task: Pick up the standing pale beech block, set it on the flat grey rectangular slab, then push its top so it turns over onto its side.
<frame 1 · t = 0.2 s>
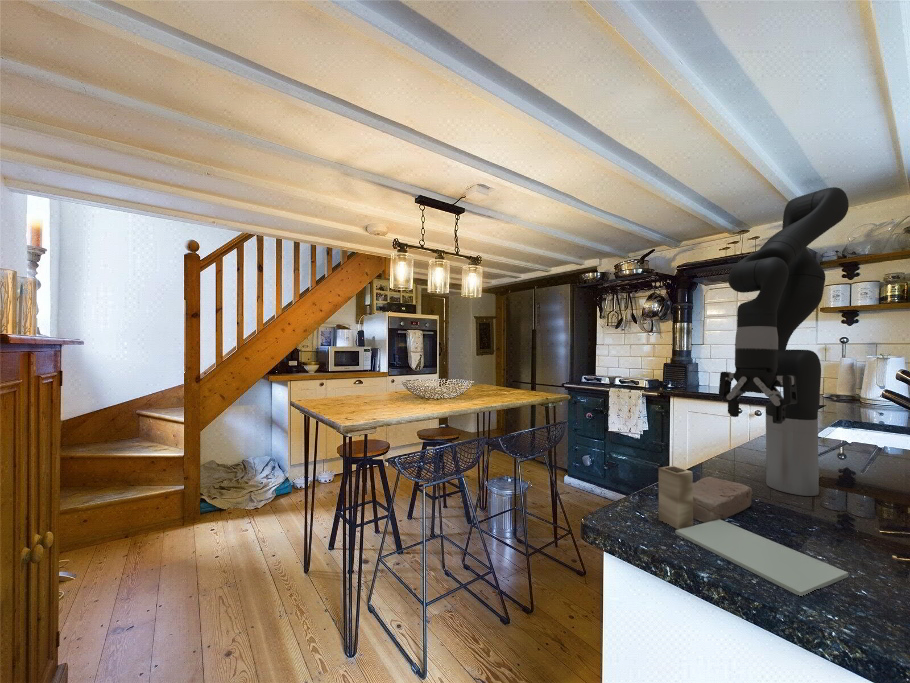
hand: (754, 419, 82), 17 cm above the countertop, tool pointing down, fingers open, 8 cm apart
beech block: (675, 522, 70), on the countertop
flat grey rectangular slab: (753, 553, 60), on the countertop
brick: (711, 510, 77), on the countertop
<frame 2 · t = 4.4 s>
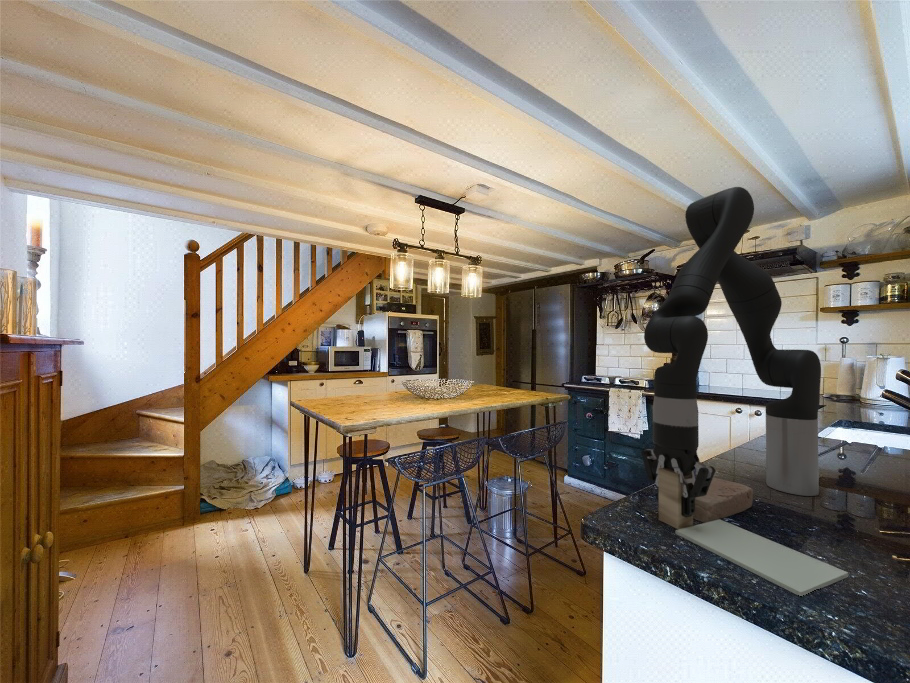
hand: (675, 510, 70), 2 cm above the countertop, tool pointing down, fingers closed on beech block, 4 cm apart
beech block: (675, 522, 70), on the countertop, touching gripper
everything else where it was.
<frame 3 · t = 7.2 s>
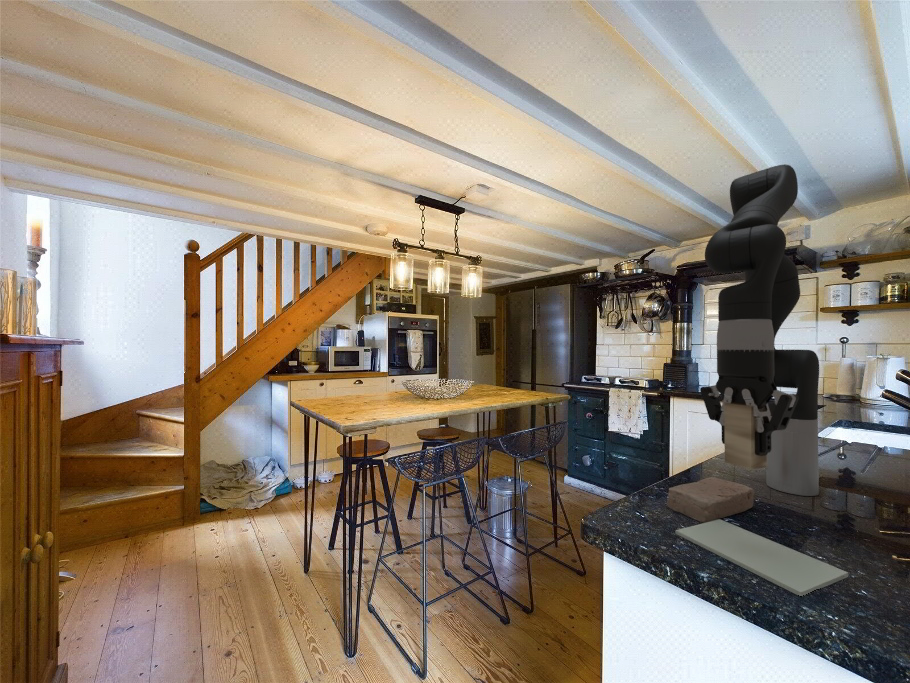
hand: (745, 450, 61), 16 cm above the countertop, tool pointing down, fingers closed on beech block, 4 cm apart
beech block: (745, 464, 61), point 14 cm above the countertop, touching gripper
everything else where it was.
when the fingers open (4 cm above the countertop, at t = 10.0 s): beech block stays where it is, resting on flat grey rectangular slab.
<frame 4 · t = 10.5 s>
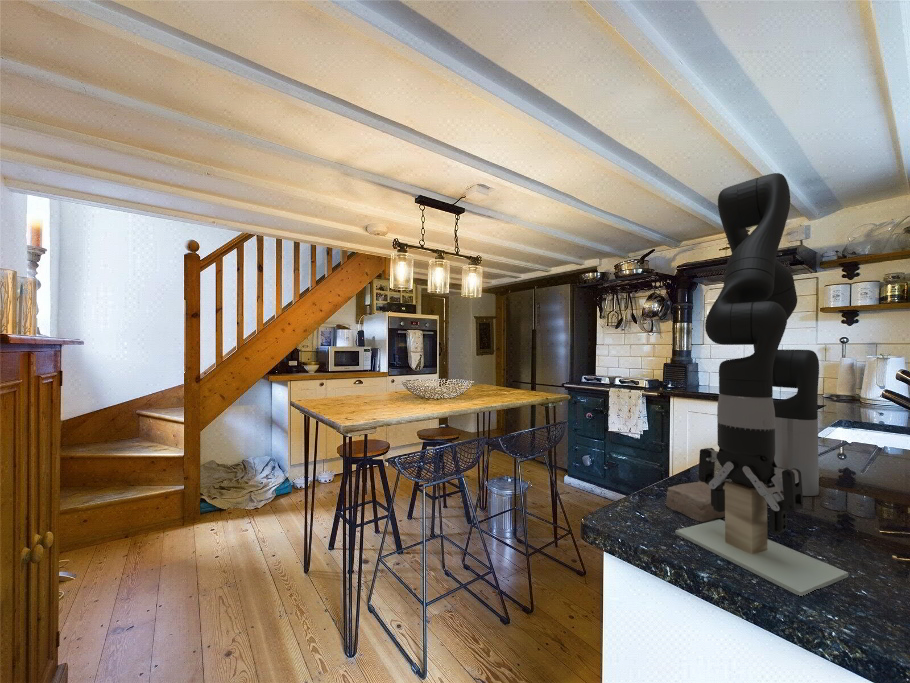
hand: (746, 521, 61), 5 cm above the countertop, tool pointing down, fingers open, 8 cm apart
beech block: (746, 546, 61), point 1 cm above the countertop, touching flat grey rectangular slab
everything else where it was.
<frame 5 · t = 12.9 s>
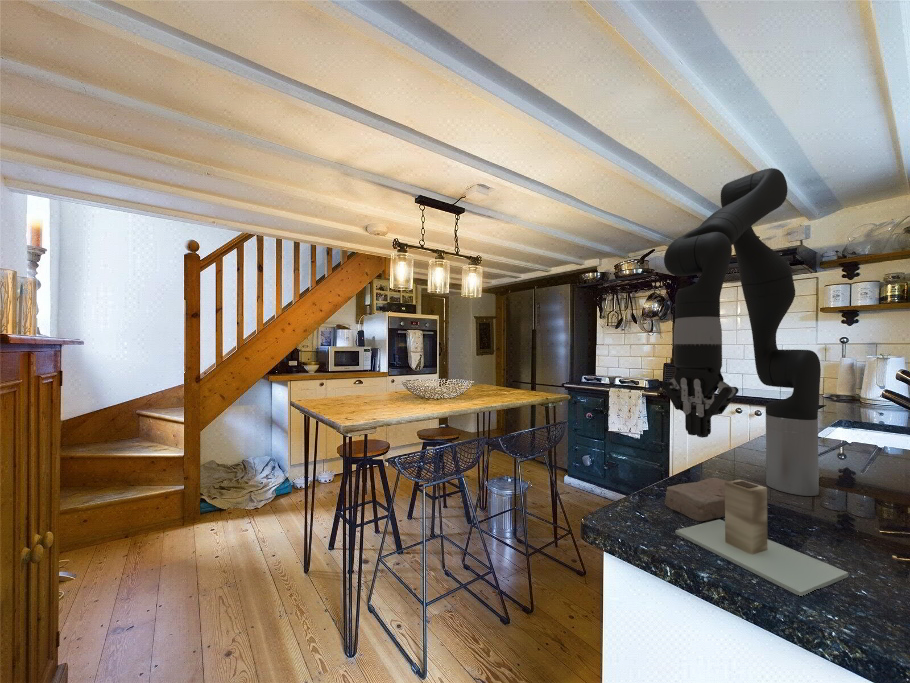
hand: (697, 435, 68), 17 cm above the countertop, tool pointing down, fingers closed
nothing on the countertop moved.
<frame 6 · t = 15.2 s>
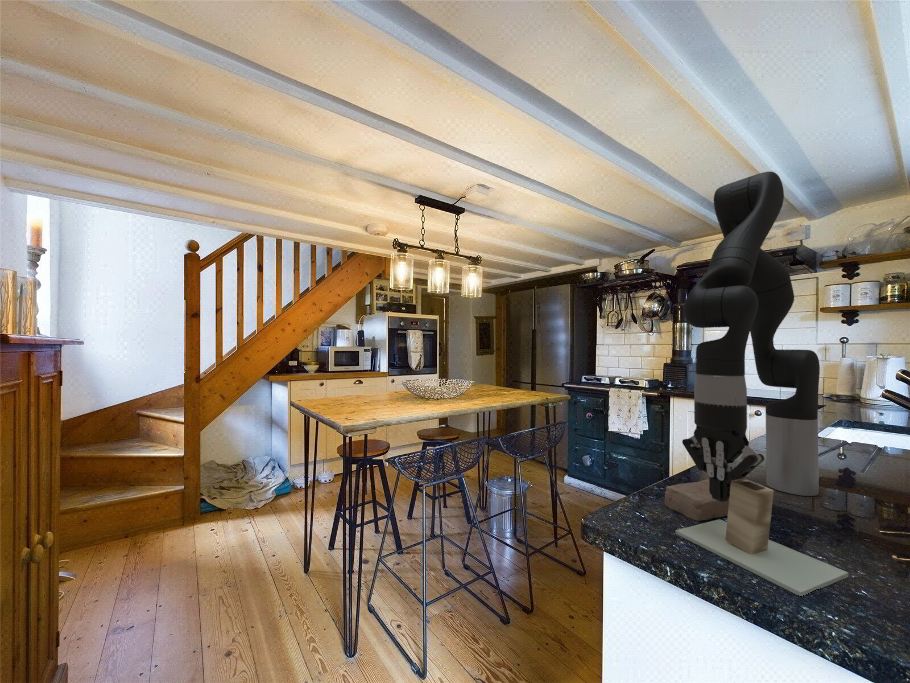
hand: (720, 499, 64), 7 cm above the countertop, tool pointing down, fingers closed
beech block: (746, 544, 61), point 1 cm above the countertop, tilted 5°, touching flat grey rectangular slab
everything else where it was.
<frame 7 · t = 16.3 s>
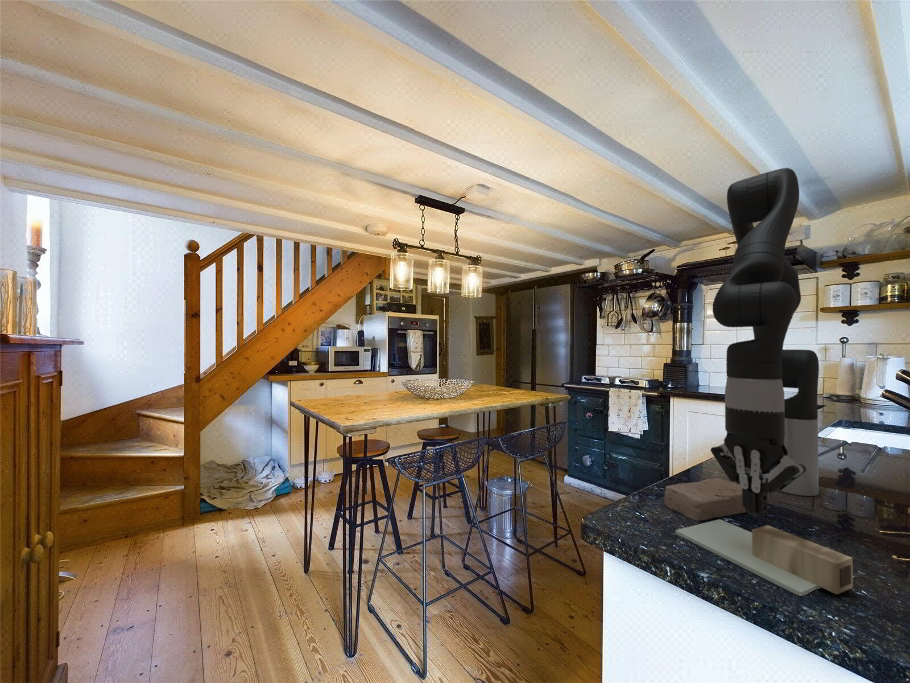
hand: (754, 513, 59), 7 cm above the countertop, tool pointing down, fingers closed
beech block: (759, 539, 59), point 3 cm above the countertop, tilted 90°, touching flat grey rectangular slab
everything else where it was.
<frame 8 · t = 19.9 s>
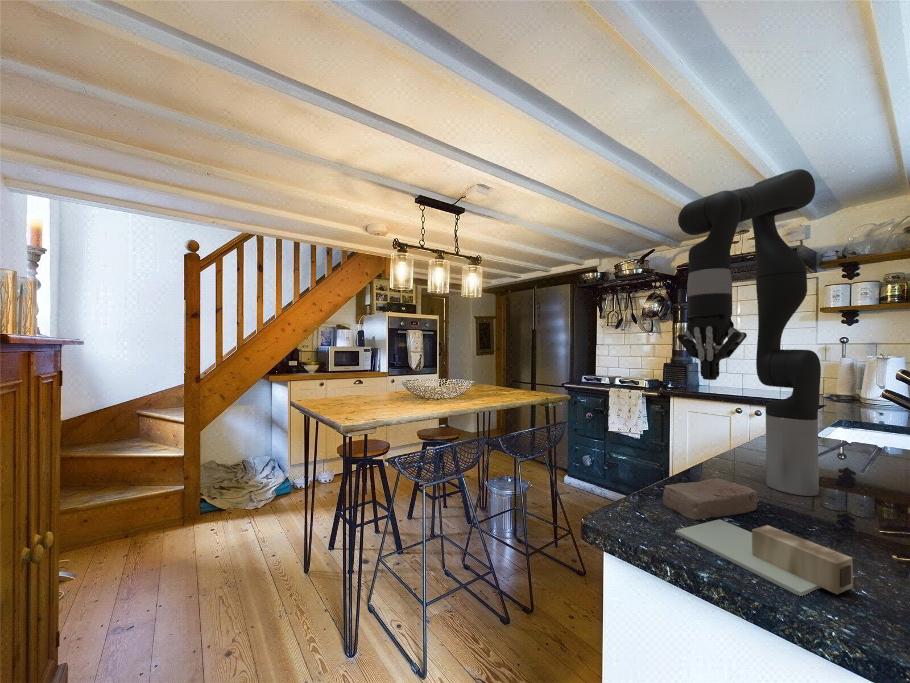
hand: (709, 379, 74), 27 cm above the countertop, tool pointing down, fingers closed
at the end: beech block tilted 90°; beech block 1.0 cm from the flat grey rectangular slab (horizontally); the gripper is holding nothing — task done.
